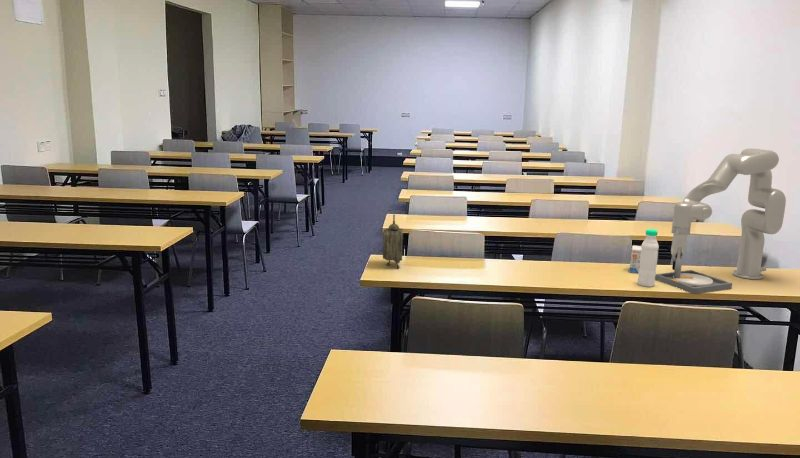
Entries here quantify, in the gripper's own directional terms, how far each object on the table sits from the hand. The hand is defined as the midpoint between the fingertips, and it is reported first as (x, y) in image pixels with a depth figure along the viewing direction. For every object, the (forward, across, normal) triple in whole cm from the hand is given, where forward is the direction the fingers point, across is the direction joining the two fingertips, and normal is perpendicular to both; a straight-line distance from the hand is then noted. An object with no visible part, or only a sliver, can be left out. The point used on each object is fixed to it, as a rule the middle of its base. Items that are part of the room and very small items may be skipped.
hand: (676, 269), depth 274 cm
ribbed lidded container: (+6, +30, -126) cm, 130 cm away
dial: (+4, +3, +7) cm, 8 cm away
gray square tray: (+5, +2, +7) cm, 9 cm away
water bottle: (+5, +12, -12) cm, 18 cm away
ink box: (+6, -10, -15) cm, 19 cm away
